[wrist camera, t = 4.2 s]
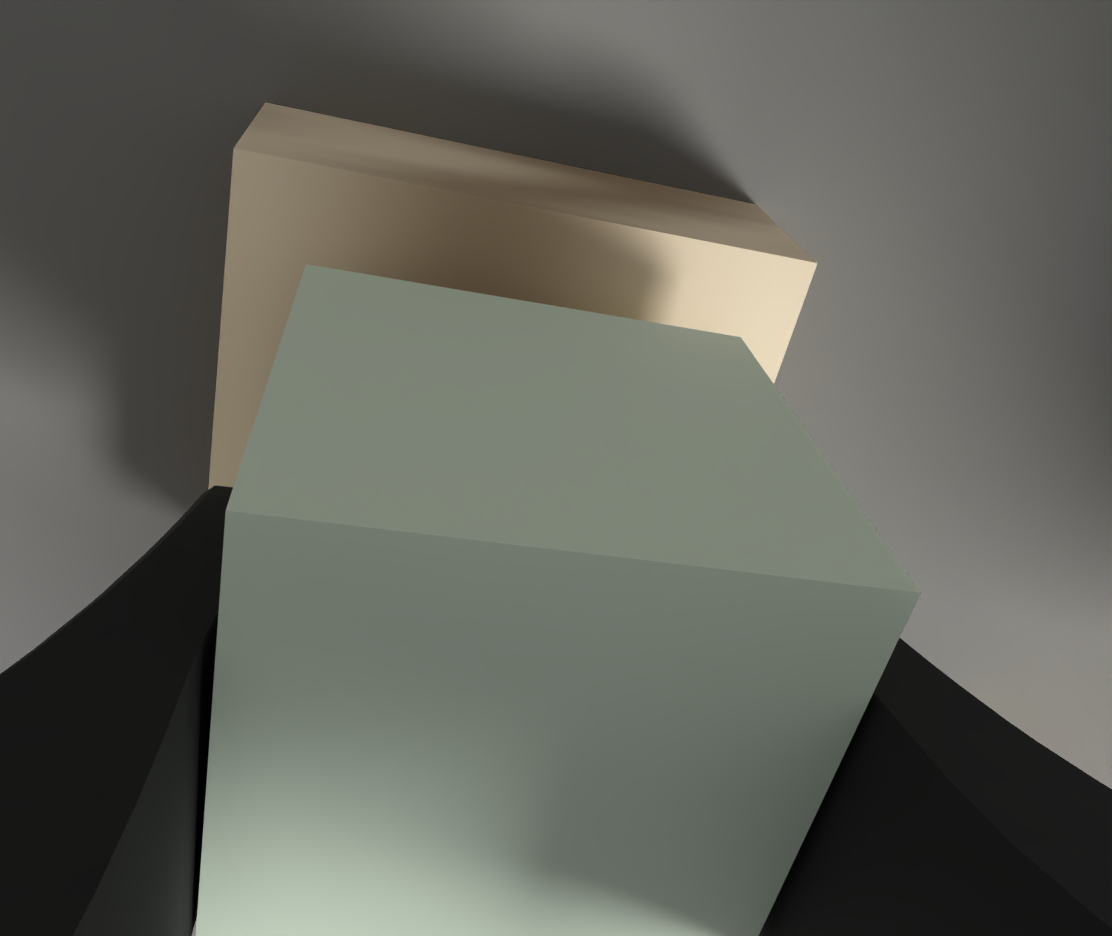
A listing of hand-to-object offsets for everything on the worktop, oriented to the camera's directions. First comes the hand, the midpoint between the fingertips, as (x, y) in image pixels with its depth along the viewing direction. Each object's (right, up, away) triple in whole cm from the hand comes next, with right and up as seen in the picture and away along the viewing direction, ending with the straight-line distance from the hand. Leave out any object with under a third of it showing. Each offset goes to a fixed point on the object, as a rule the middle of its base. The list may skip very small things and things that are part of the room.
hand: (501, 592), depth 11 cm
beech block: (-1, +3, +5) cm, 6 cm away
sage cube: (0, +1, +2) cm, 2 cm away
